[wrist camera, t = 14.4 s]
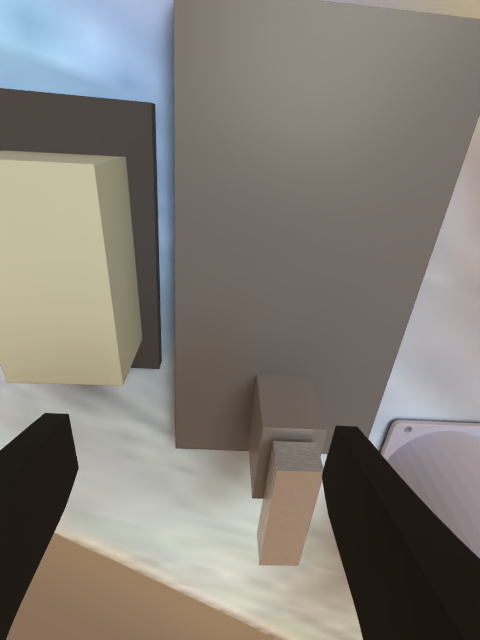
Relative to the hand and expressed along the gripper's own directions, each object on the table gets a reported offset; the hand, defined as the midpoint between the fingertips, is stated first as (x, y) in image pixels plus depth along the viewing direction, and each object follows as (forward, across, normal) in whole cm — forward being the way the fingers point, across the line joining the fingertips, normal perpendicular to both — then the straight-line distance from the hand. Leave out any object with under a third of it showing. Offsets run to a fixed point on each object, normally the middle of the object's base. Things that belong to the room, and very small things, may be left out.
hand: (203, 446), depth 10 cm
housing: (+10, -4, -1) cm, 11 cm away
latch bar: (+5, -4, +8) cm, 10 cm away
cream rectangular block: (+10, +6, -2) cm, 12 cm away
